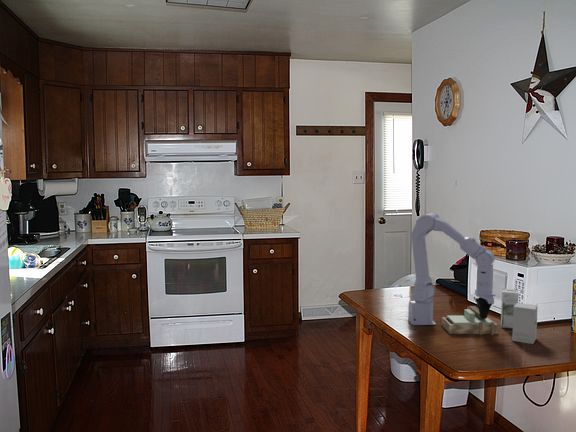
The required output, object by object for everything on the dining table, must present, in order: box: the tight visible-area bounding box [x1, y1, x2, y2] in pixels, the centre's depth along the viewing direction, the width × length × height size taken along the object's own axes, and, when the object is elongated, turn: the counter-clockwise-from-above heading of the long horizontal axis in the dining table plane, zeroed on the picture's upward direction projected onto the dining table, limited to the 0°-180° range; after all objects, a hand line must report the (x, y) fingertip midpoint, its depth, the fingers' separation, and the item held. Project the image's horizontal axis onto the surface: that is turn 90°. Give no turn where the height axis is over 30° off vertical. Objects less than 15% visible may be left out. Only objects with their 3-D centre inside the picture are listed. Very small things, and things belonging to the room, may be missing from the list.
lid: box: [446, 308, 493, 325], centre depth 206 cm, size 14×10×4 cm, turn 90°
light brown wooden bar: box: [468, 305, 486, 319], centre depth 210 cm, size 2×12×2 cm, turn 0°
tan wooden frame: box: [441, 316, 499, 336], centre depth 206 cm, size 18×13×5 cm
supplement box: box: [511, 302, 539, 345], centre depth 194 cm, size 7×7×13 cm
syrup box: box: [500, 288, 519, 330], centre depth 209 cm, size 6×6×14 cm
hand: (483, 317), depth 203 cm, fingers closed
